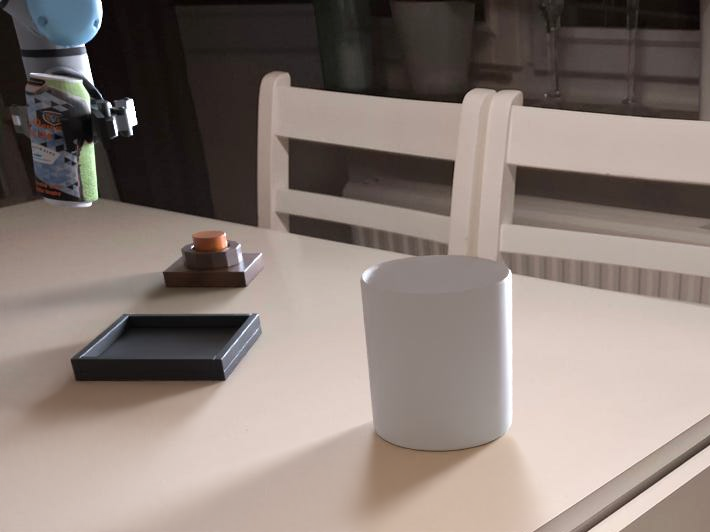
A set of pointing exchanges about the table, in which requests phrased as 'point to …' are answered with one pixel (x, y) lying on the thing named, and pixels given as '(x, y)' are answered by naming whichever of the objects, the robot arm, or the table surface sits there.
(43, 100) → the beverage can
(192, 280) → the block
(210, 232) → the button
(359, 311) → the table surface
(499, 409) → the white cylinder
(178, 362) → the tray
